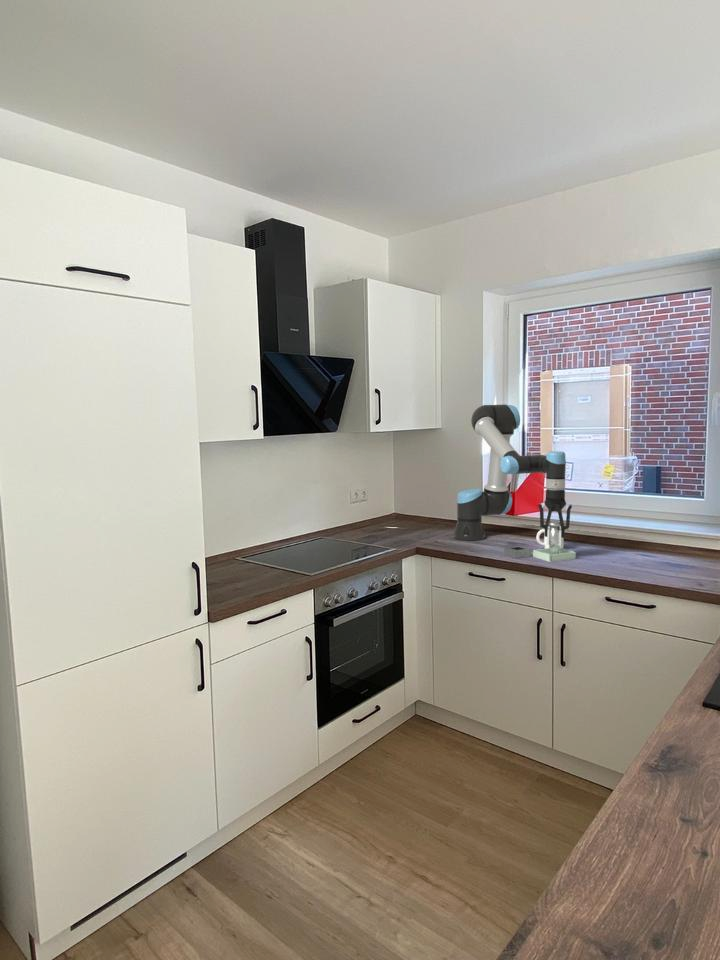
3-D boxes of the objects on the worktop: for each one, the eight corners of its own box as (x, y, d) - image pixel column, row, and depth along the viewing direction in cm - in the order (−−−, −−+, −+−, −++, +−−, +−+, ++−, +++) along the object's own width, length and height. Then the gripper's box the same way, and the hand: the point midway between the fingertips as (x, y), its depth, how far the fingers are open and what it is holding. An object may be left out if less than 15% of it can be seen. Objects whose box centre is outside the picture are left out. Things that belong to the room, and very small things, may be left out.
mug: (539, 551, 270) (539, 528, 269) (533, 547, 278) (533, 524, 277) (566, 550, 270) (566, 527, 269) (559, 546, 279) (559, 524, 278)
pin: (547, 551, 261) (548, 521, 259) (561, 552, 259) (562, 521, 257) (546, 554, 256) (547, 523, 254) (560, 555, 253) (561, 524, 252)
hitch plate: (504, 554, 265) (504, 547, 264) (519, 552, 268) (519, 545, 267) (515, 558, 257) (515, 551, 257) (531, 556, 260) (531, 549, 260)
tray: (532, 556, 260) (533, 550, 260) (557, 553, 265) (557, 547, 265) (550, 562, 250) (550, 555, 250) (575, 558, 255) (575, 552, 254)
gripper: (532, 489, 254) (532, 545, 257) (576, 490, 248) (575, 548, 250) (535, 487, 261) (534, 541, 263) (577, 488, 255) (576, 544, 257)
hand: (554, 544), depth 257 cm, fingers closed on pin, 4 cm apart
